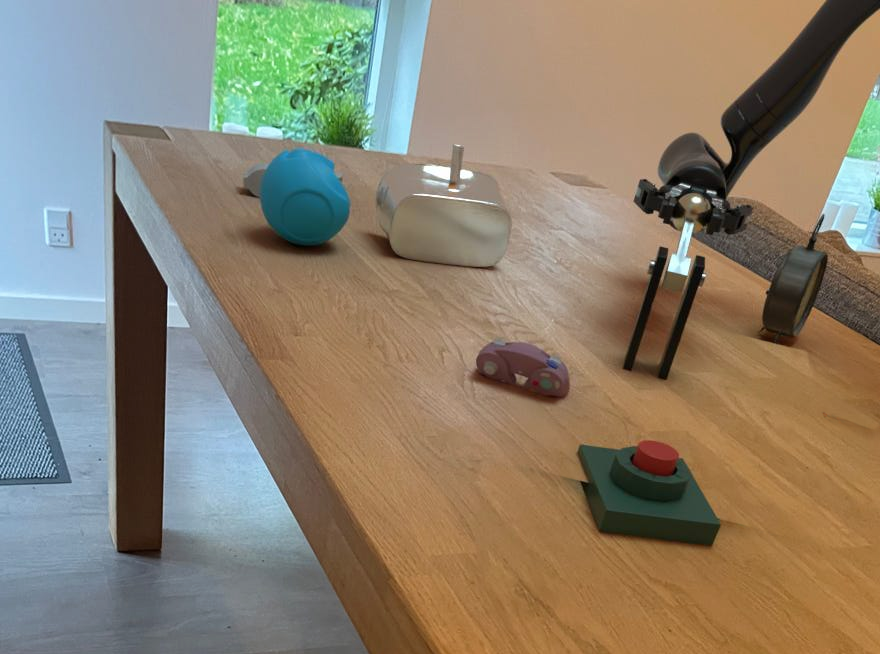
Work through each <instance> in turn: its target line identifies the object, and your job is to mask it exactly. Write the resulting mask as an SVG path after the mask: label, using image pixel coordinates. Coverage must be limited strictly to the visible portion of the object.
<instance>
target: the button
mask: <svg viewBox="0 0 880 654" xmlns="http://www.w3.org/2000/svg"><path fill="white" fill-rule="evenodd" d="M636 446H637V449H636V452H635V455H634V458H633V461H632V464H633V465H634V466H636V467H637V468H639V469H640V470H642V471H645V472H648V473H650V474H653V475H658V476H671V475H672V474H673V472H674V469H675V466H676V464H677V461H678V458H680V453H679V451H678V450H677V449H676V448H675V447H672V446H671V445H669V444H668V443H665V442H662V441H659V440H651V439H648V440H647V439H645V440H642V441H639V443H638V444H637V445H636Z"/></svg>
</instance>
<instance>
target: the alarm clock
mask: <svg viewBox="0 0 880 654" xmlns="http://www.w3.org/2000/svg"><path fill="white" fill-rule="evenodd" d="M824 220H825V213H822V214H821V216H820V217H819V218H818V221H817V223H816V224H815V226H814V229H813V232H812V233H811V236H810V237H809V238H808V244H807V245H806V247H805V246H801V245H797V246H794V247H792V248H791V249H789V250H788V251H787V253H786V254H785V255H784V256H783V258H782V259H781V261H780V263H779V265H778V267H777V268H776V271H775V273H774V275H773V278H772V280H771V283H770V285H769V288H768V289H767V290H766V291H765V295H766V297H765V301H764V304H763V308H762V315H761V317H762V318H761V323H762V328H761V329H760V330H759V331H758V332H757V333H758V334H759V333H761V332H762V331H767V332H769V333H772V334H775V336H774V338H773V341H772V342H773V344H774V345H777V344H778V343H779V341H780V340H781V338H782V336H783V337H786V338H790V339H794V338H797V337H798V335H799V334H800V333H801V331H802V330H803V328H804V327H805V324H806V322H807V321H808V318H809V316H810V314H811V311H813V310H812V309H813V307H814V305H815V302H816V300H817V297H818V294H819V292H820V290H821V286H822V283H823V281H824V277H825V273H826V270H827V265H828V261H829V260H828V259H829V256H828V253H827V251H822V250H818V249H815V244H816V243H817V241H818V239H817V238H818V237H817V236H818V234H819V232H820V229H821V227H822V225H823V222H824Z"/></svg>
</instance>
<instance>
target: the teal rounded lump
mask: <svg viewBox="0 0 880 654" xmlns="http://www.w3.org/2000/svg"><path fill="white" fill-rule="evenodd" d="M268 165H269V166H268V167H267V169H266V171H265V173H264V175H263V178H262V181H261V188H260V206H261V210H262V214H263V215H264V218H265V220H266V222H267V224H268V225H269V227H270V228H271V229H272V230H273V231H274V232H275V233H276V234H277V235H278V236H279V237H281V238H282V239H284V240H286V241H287V242H289V243H291V244H294V245H298V246H305V247H306V246H307V247H311V246H316V245H321V244H323V243H326V242H328V241H330V240H331V239H333V238H334V237H335V236H337V235H338V234H339V233H340V232H341V230H342V229H343V228H344V226H346V224H347V222H348V220H349V217H350V210H351V209H350V208H351V200H350V197H349V194H348V192H347V190H346V187H345V188H344V187H343V185H342V183H343V182H340V180H339V179H338V178H337V176H336V175H335V166H336V164H335V163H334V161H333V160H331V159H330V158H328V157H327V156H325V155H323V154H321V153H319V152H316V151H313V150H310V149H306V148H301V147H296V148H294V149H292V150H291V151H290V150H288V149H284V150H282V151H281V152H280V153H278V154H277V155H276V156H275V157H274V158H273V159H271V161H270V163H268Z"/></svg>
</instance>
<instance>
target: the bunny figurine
mask: <svg viewBox="0 0 880 654" xmlns="http://www.w3.org/2000/svg"><path fill="white" fill-rule="evenodd" d="M268 166H269V163H267V162H258V163H255V164H254V165H252V167H250V168H249V169H248V170H243V176H242V181H243V189H245V190H246V189H247V190H249V191H250V193H251V194H252V195H254V196H256V197H257V198H258V199H259V198H260V188H261V181H262V178H263V175H264V173H265V171H266V169H267V167H268ZM334 173H335V175H336V176H337V178H338V179H339V180H340V182H341V183H342V185H343V187H344V188H345V189H346V183H344V182H343V181H344V180H343V179H344V174H343V173H340V172H337V171H336V172H335V171H334Z"/></svg>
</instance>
